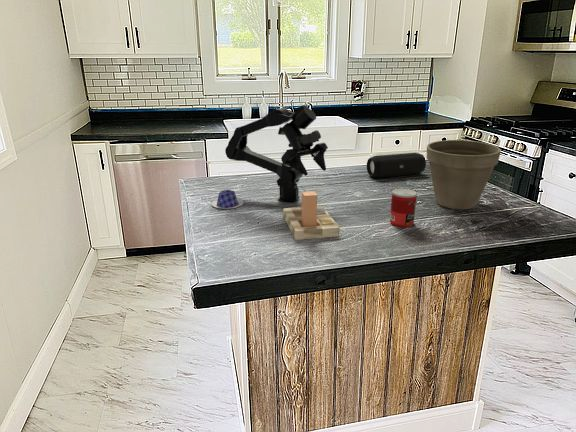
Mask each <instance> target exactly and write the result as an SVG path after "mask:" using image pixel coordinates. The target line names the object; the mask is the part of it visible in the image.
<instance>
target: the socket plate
mask: <svg viewBox="0 0 576 432" xmlns="http://www.w3.org/2000/svg"><path fill="white" fill-rule="evenodd" d="M282 213H283V214H282V215H283V216H282V217H283V219H284V221H285V223H286V225H287V227H288V228H289V230H290V232H291V234H292V236H293V238H294V240H295V241H298V240H299V241H301V240H311V239H323V238H334V237H336V238H337V237H340V231H341V230H340V226H339V224H338V223H337V222H336V221H335V220H334V218H332V216H331V215H330V213H328V211H327V210H326V208H325V207H324V206H323V205H317V226H312V227H302V206H301V207H299V206H298V207H288V208H287V207H286V208H285V207H284V208H283V209H282Z"/></svg>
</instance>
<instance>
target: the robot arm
mask: <svg viewBox="0 0 576 432" xmlns="http://www.w3.org/2000/svg"><path fill="white" fill-rule="evenodd" d="M316 119H317V116H316V113H315V112H314V111H313V110H312V109H311V108H309V107H307V106H306V104H303V105H301V106H300V107H299V108H298V109H297V111H295V112H293V111H289V109H287V108H286V107H281V108H276V109H273V110H272V111H270V112H268V113H267V114H265V116H263V117H262V118H260V119H257V120H255V121H252V122H249V123H247V124H244V125H241V126H238V127H236V128H235V129H234V131H233V134H232V136H231V138H230V139H229V141H228V144H227V146H226V147H225V151H224V152H225V155H226V158H227V159H229V160H233V161H237V162H247V163H250V164H252V165H254V166H257V167H259V168H261V169H264V170H267V171H269V172H272V173H274V174H276V175H277V176H278V179H277V180H276V183H277V186H278V187H279V198H277V201H279V202H287V203H294V202H295V201H296V200H298V199H299V198H300V196H299V192H300V191H299V190H300V189H299V187H298V182H300V179H301V178H302V177H303V175H304V176H307V175H308V171H307V169H306V167H305V165H304V164H303V161H302V160H301V159H302V158H301V157H304V156H309V155H310V156H311V157H312V160H313V161H314V162H315V163H316V165H317V166H318V167H319V168H320V169H321V170H322V171H323V172H325V171H326V170H327V165H326V161H325V153H326V152H327V150H328V149H329V148H328V147H329V146H328V145H327V144H326V142H320V143H316V142H319V141H320V139H321V138H322V135H321V133H320V132H319V130H318V129H317V130H313V131H312V132H310V133H307V134H306V133H303V132H302V131H301V130H306V129H307V128H308V127H309V126H310V125H311V124H312V123H313V122H314V121H315V120H316ZM283 124H284V125H283ZM282 125H283V126H282ZM277 126H280V127H279V128H278V131H277V134H278V135H280V136H282V135H283V136H285V138H286V139H287V141H288V145H287V146H288V147H289V148H290V149H286V150H285V152H284V153H283V154H282V155H281V156H280V157H281V158H280V159H281V160H280V161H278V160H276V159H273V158H270V157H268V156H266V155H263V154H261V153H258V152H255V151H252V150H251V148H249V146H248V145H247V144H248V136H249V135H250V134H252V133H255V132H257V131H261V130H263V129H265V128H269V127H277ZM281 126H282V127H281ZM314 143H316V144H315V145H314ZM312 147H313V148H312Z"/></svg>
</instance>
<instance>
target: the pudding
mask: <svg viewBox="0 0 576 432" xmlns="http://www.w3.org/2000/svg"><path fill="white" fill-rule="evenodd" d="M243 205H244V200H243V199H239V198H237V195H236V192H235V191H234V190H231V189H224V190H221V191H219V193H218V197H217V199H216V200H214V201H212V202H211V206H212V207H214V208H217V209H222V210H223V209H226V210H227V209H230V208H231V209H235V208H238V207H242V206H243Z"/></svg>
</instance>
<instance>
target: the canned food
mask: <svg viewBox="0 0 576 432" xmlns="http://www.w3.org/2000/svg"><path fill="white" fill-rule="evenodd" d="M417 194H418V193H417V192H416V191H415V190H413V189H408V188H395V189H393V190H392V191H391V200H390V201H391V202H390V214H389V222H390V224H391V225H393V226H395V227H398V228H408V227H409V228H410V227H412V226H413V225H414V224H415V216H416V215H415V214H416V207H417V198H418V196H417Z"/></svg>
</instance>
